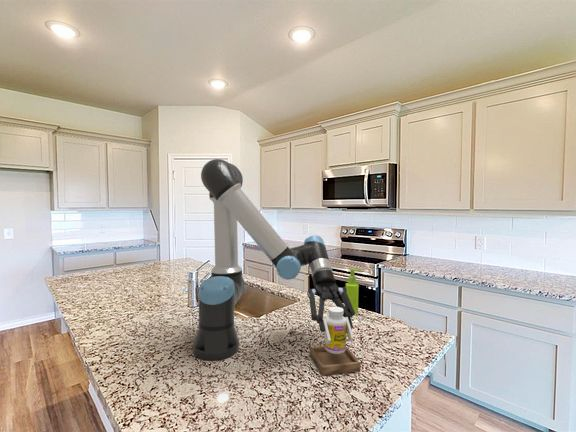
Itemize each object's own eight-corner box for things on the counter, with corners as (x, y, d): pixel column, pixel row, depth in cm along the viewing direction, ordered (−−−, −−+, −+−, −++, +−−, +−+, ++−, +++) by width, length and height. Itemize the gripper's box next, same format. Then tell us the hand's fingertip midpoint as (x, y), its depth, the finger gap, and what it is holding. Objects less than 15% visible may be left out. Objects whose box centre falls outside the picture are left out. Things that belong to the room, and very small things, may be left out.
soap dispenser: (360, 315, 133) (361, 271, 132) (344, 313, 134) (346, 270, 133) (360, 310, 139) (361, 268, 138) (345, 309, 140) (346, 267, 139)
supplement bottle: (332, 356, 88) (333, 314, 88) (320, 347, 94) (320, 307, 94) (350, 351, 91) (351, 310, 91) (337, 342, 97) (338, 304, 97)
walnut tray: (322, 375, 86) (322, 367, 86) (309, 354, 97) (309, 347, 97) (360, 371, 88) (360, 363, 88) (343, 351, 100) (343, 344, 100)
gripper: (344, 278, 109) (365, 342, 94) (293, 281, 105) (306, 348, 90) (351, 267, 104) (374, 332, 89) (297, 269, 99) (311, 339, 84)
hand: (340, 340), depth 89 cm, fingers closed on supplement bottle, 7 cm apart
